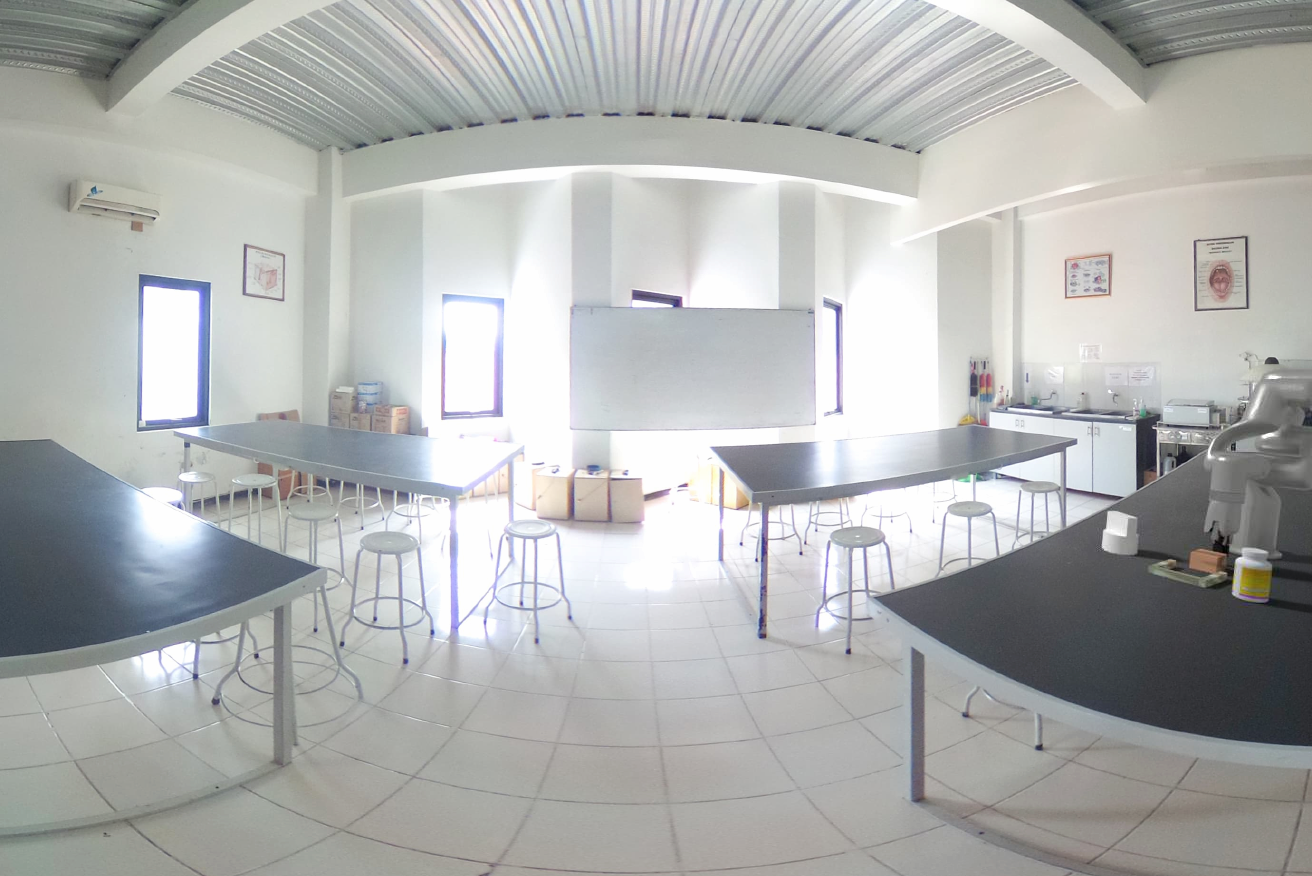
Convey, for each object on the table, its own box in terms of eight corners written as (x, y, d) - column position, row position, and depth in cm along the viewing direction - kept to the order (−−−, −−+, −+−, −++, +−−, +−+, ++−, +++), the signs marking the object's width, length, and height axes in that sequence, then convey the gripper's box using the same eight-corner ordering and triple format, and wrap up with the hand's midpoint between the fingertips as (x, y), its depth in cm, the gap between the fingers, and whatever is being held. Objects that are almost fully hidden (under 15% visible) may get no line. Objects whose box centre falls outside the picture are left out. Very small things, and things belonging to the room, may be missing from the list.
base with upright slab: (1144, 555, 183) (1148, 518, 181) (1115, 555, 183) (1119, 518, 181) (1122, 546, 191) (1125, 510, 190) (1094, 546, 192) (1097, 511, 190)
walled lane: (1169, 565, 173) (1170, 559, 173) (1226, 579, 161) (1227, 573, 161) (1147, 572, 168) (1148, 565, 167) (1205, 587, 156) (1206, 580, 156)
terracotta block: (1198, 564, 174) (1200, 548, 173) (1225, 571, 168) (1227, 554, 168) (1189, 568, 171) (1190, 551, 170) (1215, 574, 166) (1217, 557, 165)
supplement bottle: (1275, 604, 145) (1282, 555, 143) (1244, 602, 146) (1250, 554, 145) (1254, 594, 151) (1260, 546, 150) (1224, 592, 153) (1229, 545, 151)
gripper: (1222, 491, 177) (1215, 549, 179) (1198, 497, 170) (1191, 557, 173) (1255, 496, 170) (1248, 557, 172) (1231, 502, 164) (1224, 564, 166)
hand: (1219, 556), depth 172 cm, fingers closed
